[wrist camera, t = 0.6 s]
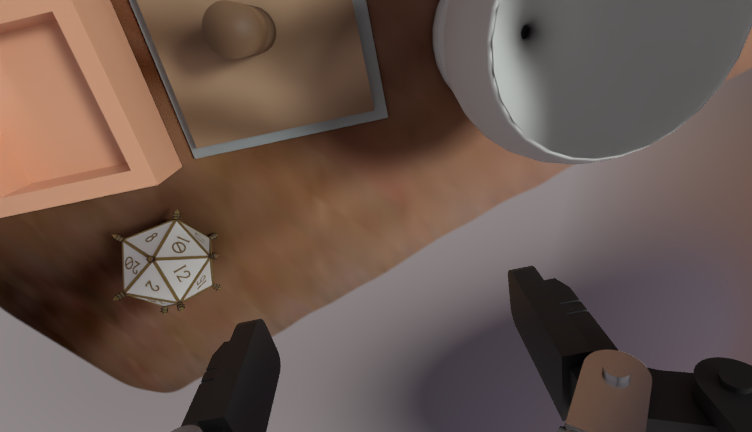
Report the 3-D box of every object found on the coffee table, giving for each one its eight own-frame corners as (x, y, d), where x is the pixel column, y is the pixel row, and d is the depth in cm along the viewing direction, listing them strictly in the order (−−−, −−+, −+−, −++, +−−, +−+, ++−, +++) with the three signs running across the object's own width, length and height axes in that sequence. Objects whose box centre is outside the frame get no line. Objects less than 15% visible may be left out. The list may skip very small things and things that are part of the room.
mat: (99, -76, 27) (96, -77, 27) (339, -137, 26) (339, -139, 26) (196, 157, 35) (194, 158, 34) (388, 116, 33) (388, 117, 33)
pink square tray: (-72, 29, 30) (-141, 29, 26) (104, -14, 29) (61, -21, 25) (34, 197, 36) (-9, 219, 32) (182, 166, 35) (158, 184, 31)
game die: (190, 235, 42) (92, 295, 35) (181, 175, 36) (61, 233, 29) (250, 286, 40) (157, 360, 33) (252, 230, 34) (139, 307, 27)
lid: (117, -63, 27) (44, -91, 21) (328, -116, 27) (317, -162, 20) (201, 145, 34) (164, 171, 27) (374, 108, 33) (376, 126, 27)
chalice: (627, 50, 32) (824, 65, 18) (478, 153, 35) (550, 231, 22) (549, -128, 27) (739, -289, 13) (383, 12, 30) (400, -3, 17)
